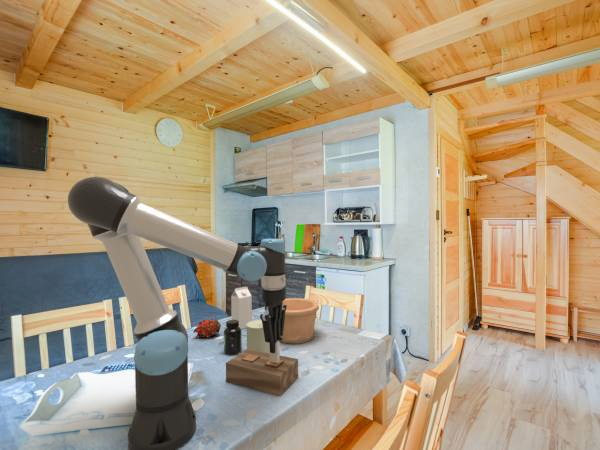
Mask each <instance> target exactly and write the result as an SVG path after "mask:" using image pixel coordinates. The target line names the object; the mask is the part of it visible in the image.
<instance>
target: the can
mask: <svg viewBox="0 0 600 450" xmlns="http://www.w3.org/2000/svg"><path fill="white" fill-rule="evenodd" d="M246 327H247V328H246V349H252V350H257V351H261V352H266V353H270V343H269V342H265V337H264V331H263V325H262V320H261V319H254V320H252V321H251V322H248V323H247V324H246Z"/></svg>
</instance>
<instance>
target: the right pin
mask: <svg viewBox="0 0 600 450" xmlns="http://www.w3.org/2000/svg"><path fill="white" fill-rule="evenodd" d="M282 364H283V361H282V360H280V361H279V362H278V363H274V362H270V361H268V362H267V363H266V366H268V367H273V368H278V367H279V366H281V365H282Z"/></svg>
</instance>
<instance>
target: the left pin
mask: <svg viewBox="0 0 600 450" xmlns="http://www.w3.org/2000/svg"><path fill="white" fill-rule="evenodd" d="M257 359H259V356H255V355H251V354H249V355H247V356H246V357H244V358H243V359H242V361H247V362H251V363H253V362H255V361H256V360H257Z"/></svg>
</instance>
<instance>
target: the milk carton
mask: <svg viewBox="0 0 600 450" xmlns="http://www.w3.org/2000/svg"><path fill="white" fill-rule="evenodd" d="M230 298H231V299H230V300H231V301H230V303H231V305H230V306H231V308H230V309H231V312H230V313H231V320H238V321H239V326H238V327H240V328H241V330H244V329H247V327H246V324H247V323H248V322H251V321H253V316H252V315H253V312H252V311H253V308H252V307H253V305H252V303H253V302H252V294H251V292H250V291H249V287H248V286H243V287H242V286H241V287H236V288H234V291H233V292H232V294H231V297H230Z"/></svg>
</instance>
